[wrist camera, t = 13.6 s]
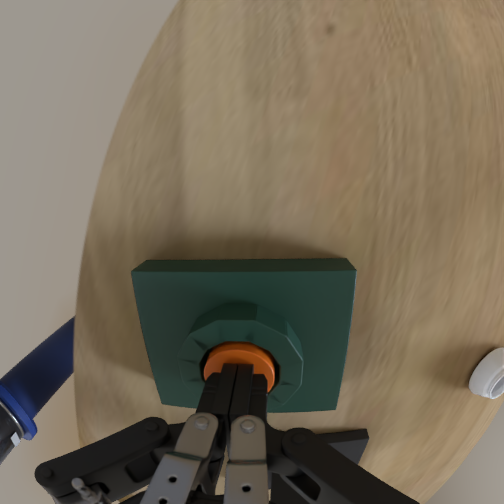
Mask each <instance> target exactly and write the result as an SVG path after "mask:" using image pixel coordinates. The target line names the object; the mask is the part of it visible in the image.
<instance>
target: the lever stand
mask: <svg viewBox="0 0 504 504" xmlns="http://www.w3.org/2000/svg"><path fill="white" fill-rule="evenodd" d="M316 435H317V436H318V437H320V438H321V439H322V440H324V441H325V442H326V443H328V444H329V445H330V446H332V447H333V448H335V449H336V450H337V451H339V452H340V453H341V454H343V455H344V456H346V457H347V458H348V459H350V460H351V461H353V462H354V463H356V464H357V465H358V463H359V461H360V459H361V456H362V454H363V452H364V450H365V447H366V445H367V443H368V440H369V436H368V432H367V429H363V430H355V431H348V432H339V433H328V434H316ZM226 446H227V451H228V457H229V450H230V445H226ZM267 473H268V489H271V499H270V501H272V502H275V503H277V504H310V503H309V502H308V501H307V500H305V499H304V498H303V497H302V496H301V495H300V494H299V493H297V492H296V491H295V490H294V489H293V488H292V487H291V486H290V485H289V484H288V483H286V482H285V481H284V480H283V479H282V478H281V476H280V474H277V473H273V472H269V471H267Z"/></svg>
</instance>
